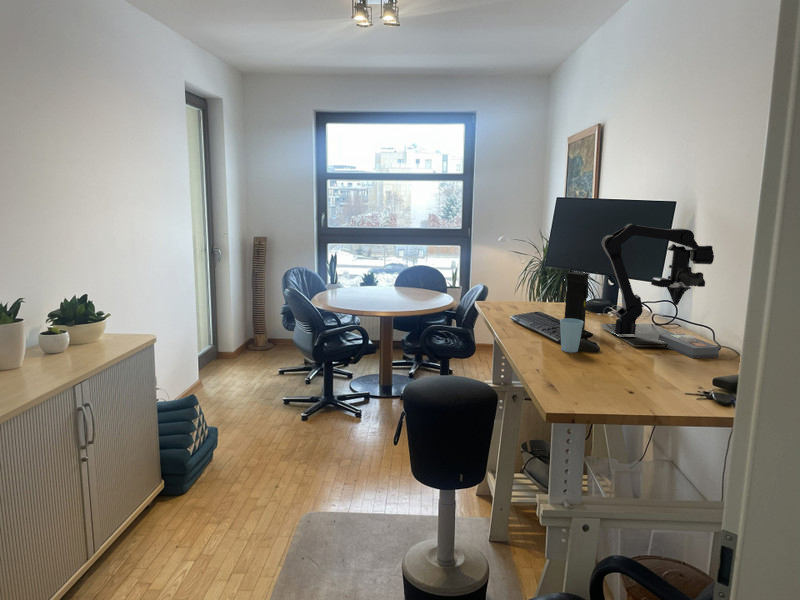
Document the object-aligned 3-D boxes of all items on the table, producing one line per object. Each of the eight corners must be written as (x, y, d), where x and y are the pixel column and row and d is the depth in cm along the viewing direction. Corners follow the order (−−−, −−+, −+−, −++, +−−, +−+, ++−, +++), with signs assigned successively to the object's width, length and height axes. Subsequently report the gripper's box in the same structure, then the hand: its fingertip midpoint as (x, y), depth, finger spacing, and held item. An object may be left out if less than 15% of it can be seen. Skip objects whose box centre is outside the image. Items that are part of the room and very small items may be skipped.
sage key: (675, 344, 205) (676, 337, 204) (669, 341, 208) (670, 335, 208) (684, 344, 205) (685, 337, 205) (678, 341, 209) (678, 334, 208)
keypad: (692, 358, 192) (693, 348, 191) (658, 343, 209) (659, 334, 209) (718, 357, 194) (719, 347, 193) (682, 343, 211) (683, 333, 211)
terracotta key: (697, 353, 194) (698, 345, 194) (690, 350, 198) (690, 343, 197) (706, 352, 195) (707, 345, 194) (699, 349, 198) (700, 342, 198)
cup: (564, 353, 193) (567, 323, 192) (553, 347, 201) (556, 318, 199) (585, 353, 195) (587, 323, 193) (573, 347, 203) (575, 318, 201)
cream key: (686, 344, 199) (687, 337, 199) (679, 342, 203) (680, 335, 202) (695, 344, 200) (696, 337, 199) (688, 341, 203) (689, 334, 203)
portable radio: (587, 330, 228) (593, 267, 223) (580, 332, 224) (586, 268, 219) (569, 326, 233) (574, 265, 228) (562, 328, 229) (567, 266, 224)
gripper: (672, 266, 202) (667, 310, 205) (718, 266, 206) (713, 309, 209) (652, 262, 213) (648, 303, 216) (696, 262, 216) (692, 302, 219)
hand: (675, 305), depth 215 cm, fingers closed
